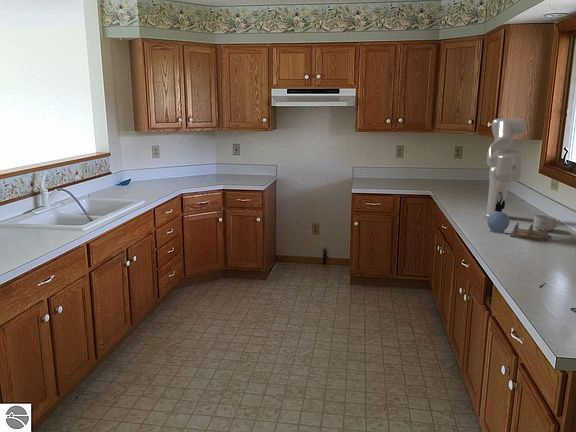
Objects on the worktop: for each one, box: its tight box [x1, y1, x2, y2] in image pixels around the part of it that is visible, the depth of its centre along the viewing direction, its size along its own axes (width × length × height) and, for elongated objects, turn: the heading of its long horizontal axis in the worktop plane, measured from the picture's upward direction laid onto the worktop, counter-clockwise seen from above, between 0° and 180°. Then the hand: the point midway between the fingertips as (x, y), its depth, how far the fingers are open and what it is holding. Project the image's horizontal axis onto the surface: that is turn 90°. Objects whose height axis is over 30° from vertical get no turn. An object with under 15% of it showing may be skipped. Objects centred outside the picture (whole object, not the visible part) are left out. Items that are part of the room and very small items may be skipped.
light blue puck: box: [486, 211, 511, 234], centre depth 265 cm, size 2×11×12 cm, turn 59°
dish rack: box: [510, 222, 550, 242], centre depth 258 cm, size 15×17×5 cm
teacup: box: [533, 214, 561, 232], centre depth 269 cm, size 14×11×8 cm
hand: (499, 210), depth 263 cm, fingers open, 9 cm apart
